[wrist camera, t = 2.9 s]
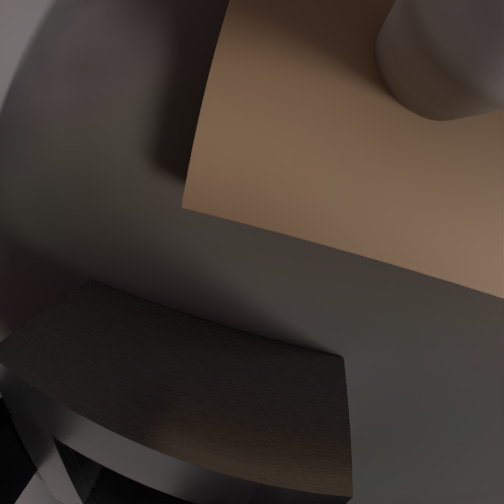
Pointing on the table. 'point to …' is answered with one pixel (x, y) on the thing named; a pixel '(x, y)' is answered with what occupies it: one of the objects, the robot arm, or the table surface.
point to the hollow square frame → (173, 407)
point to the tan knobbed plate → (361, 130)
